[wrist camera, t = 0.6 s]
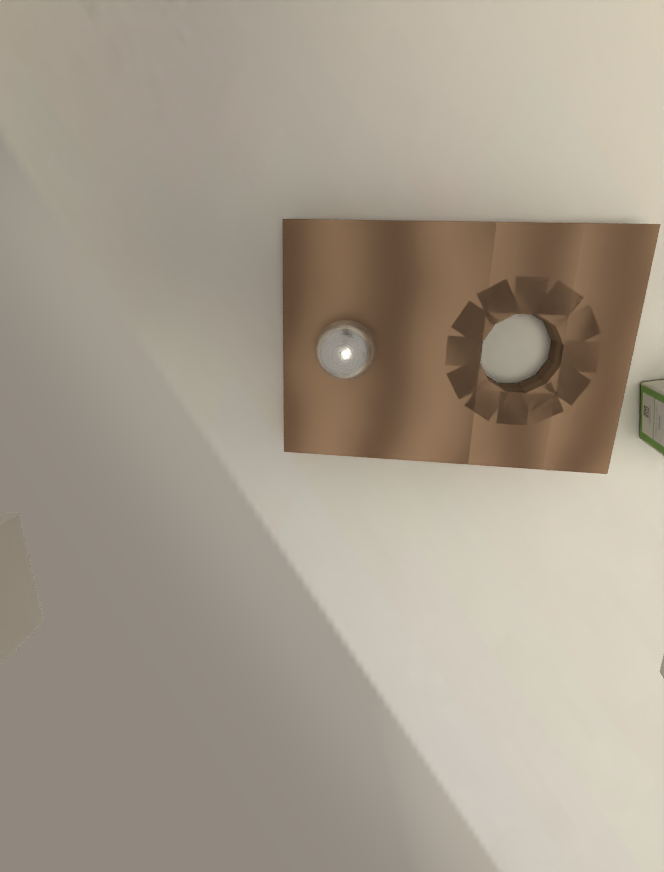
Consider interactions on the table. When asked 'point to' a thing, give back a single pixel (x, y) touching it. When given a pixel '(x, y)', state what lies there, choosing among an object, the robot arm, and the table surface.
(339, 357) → the ball
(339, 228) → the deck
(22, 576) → the robot arm
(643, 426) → the ink box
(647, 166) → the table surface
